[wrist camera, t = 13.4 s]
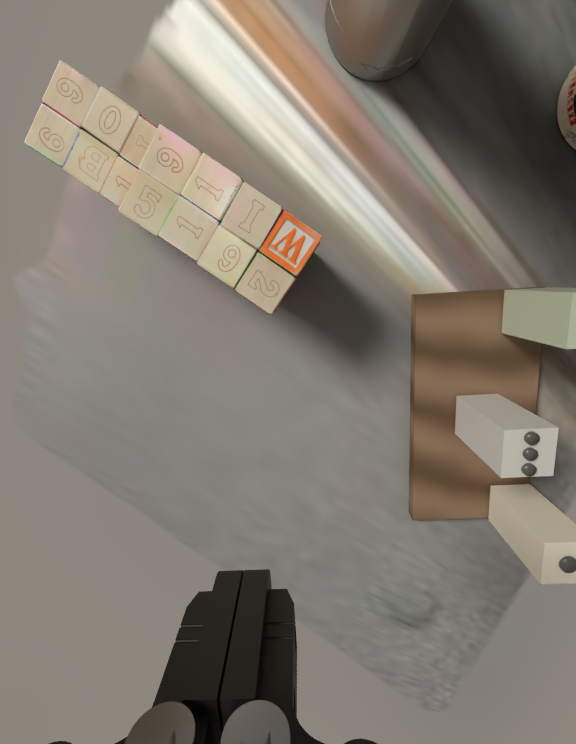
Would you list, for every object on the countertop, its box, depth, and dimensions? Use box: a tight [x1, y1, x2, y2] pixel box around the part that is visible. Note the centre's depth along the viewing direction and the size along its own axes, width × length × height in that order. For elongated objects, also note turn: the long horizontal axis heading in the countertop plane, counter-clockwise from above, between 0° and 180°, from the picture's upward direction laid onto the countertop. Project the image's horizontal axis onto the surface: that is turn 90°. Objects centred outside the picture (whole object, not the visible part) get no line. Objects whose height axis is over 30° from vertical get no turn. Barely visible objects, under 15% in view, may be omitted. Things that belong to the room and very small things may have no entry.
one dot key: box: [488, 484, 576, 584], centre depth 36 cm, size 4×4×9 cm
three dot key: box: [455, 394, 558, 478], centre depth 33 cm, size 4×4×9 cm
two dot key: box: [502, 287, 576, 349], centre depth 31 cm, size 4×4×9 cm
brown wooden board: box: [409, 287, 547, 520], centre depth 39 cm, size 24×12×2 cm, turn 3°
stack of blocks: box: [25, 60, 322, 314], centre depth 30 cm, size 21×6×12 cm, turn 56°
